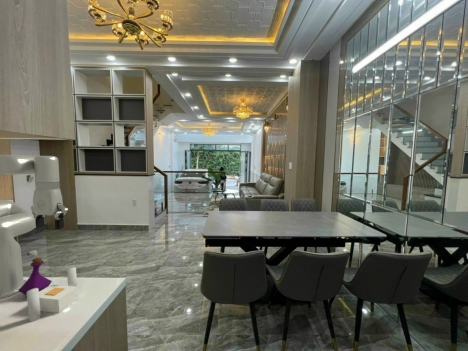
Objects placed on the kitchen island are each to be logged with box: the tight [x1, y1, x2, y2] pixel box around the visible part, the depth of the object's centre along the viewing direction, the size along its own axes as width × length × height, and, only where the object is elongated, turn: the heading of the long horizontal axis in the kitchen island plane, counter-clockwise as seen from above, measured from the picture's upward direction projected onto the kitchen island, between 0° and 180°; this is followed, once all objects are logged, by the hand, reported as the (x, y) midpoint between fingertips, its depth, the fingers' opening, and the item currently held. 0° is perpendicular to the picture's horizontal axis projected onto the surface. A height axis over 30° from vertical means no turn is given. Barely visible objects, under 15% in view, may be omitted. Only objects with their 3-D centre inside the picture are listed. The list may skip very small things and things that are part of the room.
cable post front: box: [26, 288, 42, 322], centre depth 75 cm, size 3×3×10 cm
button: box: [45, 288, 64, 296], centre depth 83 cm, size 4×4×4 cm
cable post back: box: [66, 266, 78, 287], centre depth 90 cm, size 3×3×10 cm
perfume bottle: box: [18, 249, 53, 297], centre depth 90 cm, size 8×8×18 cm
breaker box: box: [39, 284, 79, 314], centre depth 83 cm, size 12×8×5 cm, turn 81°
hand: (50, 227), depth 90 cm, fingers open, 9 cm apart
